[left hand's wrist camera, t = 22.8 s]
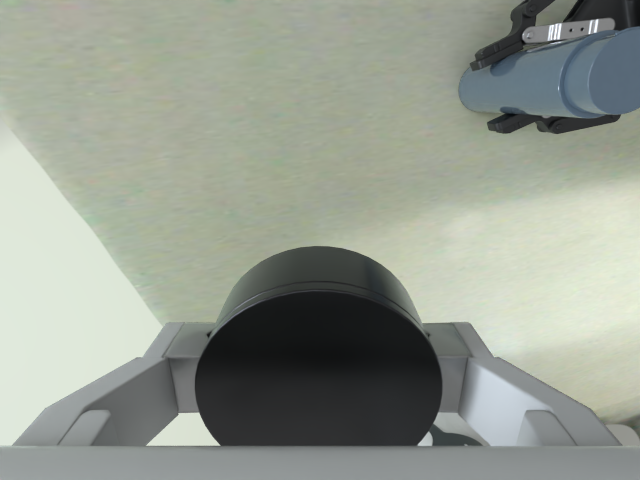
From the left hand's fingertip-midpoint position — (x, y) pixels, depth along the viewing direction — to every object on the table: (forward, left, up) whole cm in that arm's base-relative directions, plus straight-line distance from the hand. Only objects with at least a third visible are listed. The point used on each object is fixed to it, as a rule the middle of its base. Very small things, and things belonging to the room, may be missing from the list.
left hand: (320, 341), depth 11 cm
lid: (0, 0, +2) cm, 2 cm away
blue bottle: (-3, -19, -32) cm, 38 cm away
